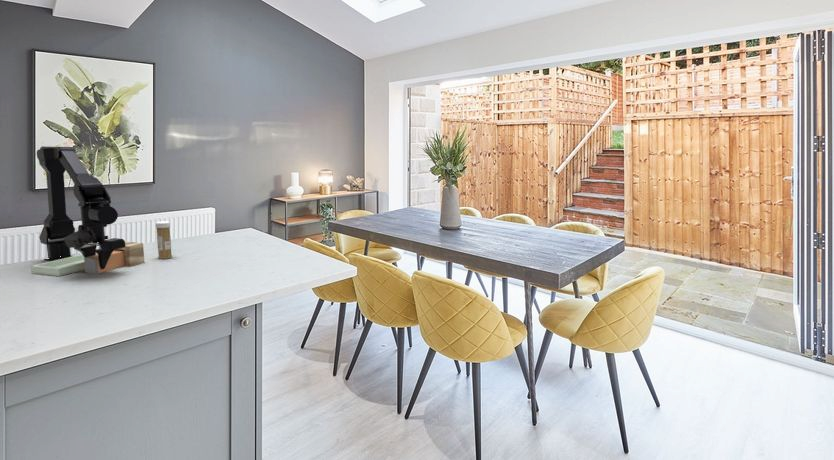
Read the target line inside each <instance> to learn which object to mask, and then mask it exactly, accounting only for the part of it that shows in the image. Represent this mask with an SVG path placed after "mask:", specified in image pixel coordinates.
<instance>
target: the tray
mask: <svg viewBox="0 0 834 460" xmlns="http://www.w3.org/2000/svg"><path fill="white" fill-rule="evenodd" d="M96 255H98V254H97V253H96ZM71 256H72V257H68V258H63V259H59V260H55V261H50V260H49V261H45V262H42V263H38V264H33V265H30V271H31V274H33V275H34V274H35V275H42V276H43V275H45V276H52V277H62V276H66V275H70V274H73V273H78V272H81V271H85V263H84V256H83V254H82V253H81V254H77V255H71Z"/></svg>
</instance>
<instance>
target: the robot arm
mask: <svg viewBox="0 0 834 460" xmlns="http://www.w3.org/2000/svg"><path fill="white" fill-rule="evenodd" d="M36 158H37V159H38V165H39V166H40V167H41V168H42V169H43V171H45V174H46V176H45V177H46V188H47V189H46V190H47V201H48V204H47V205H48V215H47V216H46V218H45V219H44V220H43V227H42V229H41V232H40V234H39V241H40V243H41V244H43V245H46V252H47V258H49V259H44V258H43V261H49V262H50V261H55V260H59V259H63V258H68V257H72V256H73V255H72V254H71V248H72V249H74V250H76V251H78V252H79V253H81V254H83V256H84V258H85V257H89V256H93V255H96V253H97V254H98V257H99V264H100V268H101V269H104V268H105V266H106V264H107V262H108V260H109V258H110V256H111V254H112V252H113V251H114V250H115V249H119V248H124V247H126V246H125V239H123V238H117V237H114V238H109V235H105V228H106V227H108V225H109V226H110V225H113V223H115V222H116V221H117V220H118V217H119V212H118V211H117V210H116V209H115V208H114V207H113V206H111V203H112V200H111V199H112V198H111V196H110V194H109V193H108V191H107V189H106V187H105V185H103V183H102V182H101V181H100V180H99V179H98V178H97V177H95V176H93V175H91V173H89V172H88V170H87V169H86V167H85V166H84V164H83V163H82V161H81V160H80V158H79V157H78V155H77V152H76V148H74V147H71V146H44V145H43V146H40V148H39V149H37V151H36ZM65 172H66V173H67V174H68V176H69V178H70V179H71V180H72V182H73V184H74V185H73V187H72V191H73V195H74V197H75V198H76V199H77V200H78V207H80V217H81V218H80V219H81V224H79V225H78V226H77V230H76V228H75V226H74V220H73V219H71V218H70V217H69V216H68V214H67V205H66V204H67V202H66V187H65ZM98 246H99V247H98ZM97 247H98V249H97ZM60 256H61V257H60Z"/></svg>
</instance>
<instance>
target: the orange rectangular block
mask: <svg viewBox="0 0 834 460" xmlns="http://www.w3.org/2000/svg"><path fill="white" fill-rule="evenodd" d="M84 263H85V270H84V272H85V273H86V274H92V275H96V274H100V273H103V272H107V271H110V270H111V271H112V270H113V269H114V270H115V269H117V268H122V267H124V266H125V267H126V264H125V252H124V250H120V249H118V250H114V251H113V252H112V254H111V256H110V258H109V260H108V262H107V264H106V266H105V268H104V269H101V268H100V264H99V257H98V255H93V256H89V257H85V258H84Z"/></svg>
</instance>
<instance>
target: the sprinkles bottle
mask: <svg viewBox="0 0 834 460" xmlns="http://www.w3.org/2000/svg"><path fill="white" fill-rule="evenodd" d="M170 227H171V223H170V221H166V220H165V221H164V220H163V221H162V220H161V221H156V222H155V228H156V241H157V251H158V259H160V260H161V259H162V260H167V259H171V258H172V257H173V255H172V241H171V231H170V230H171V228H170Z"/></svg>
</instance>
